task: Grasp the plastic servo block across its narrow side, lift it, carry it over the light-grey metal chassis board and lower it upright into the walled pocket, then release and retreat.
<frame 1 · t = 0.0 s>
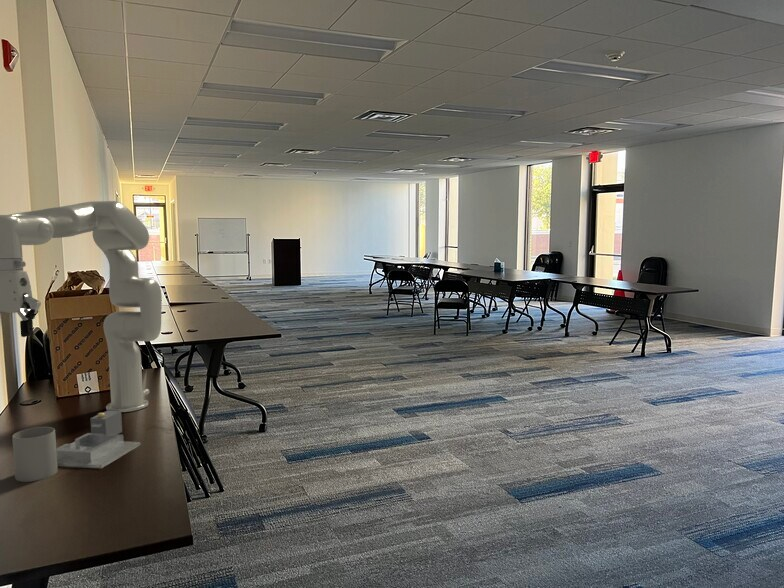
hand: (9, 335, 141), 31 cm above the table, fingers open, 9 cm apart
servo: (107, 435, 160), on the table
chassis board: (89, 454, 146), on the table
cup: (36, 475, 134), on the table
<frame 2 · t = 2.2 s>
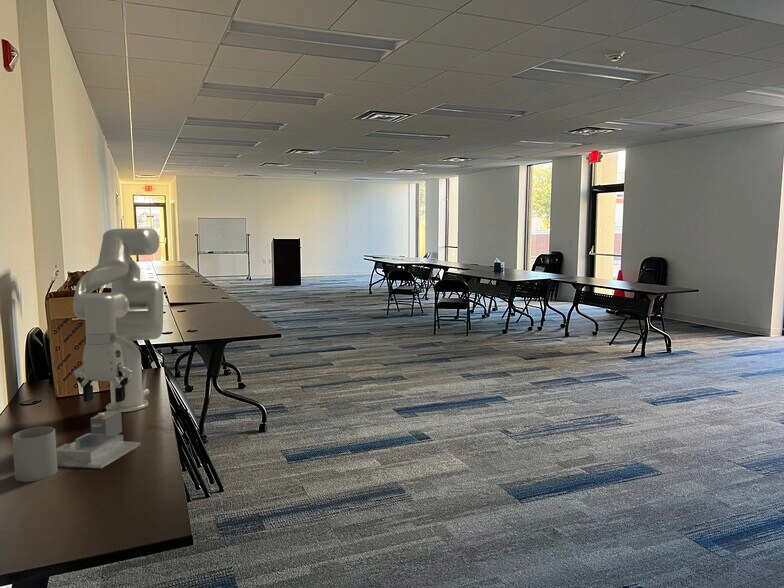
hand: (104, 400, 159), 10 cm above the table, fingers open, 9 cm apart
nothing on the table moved.
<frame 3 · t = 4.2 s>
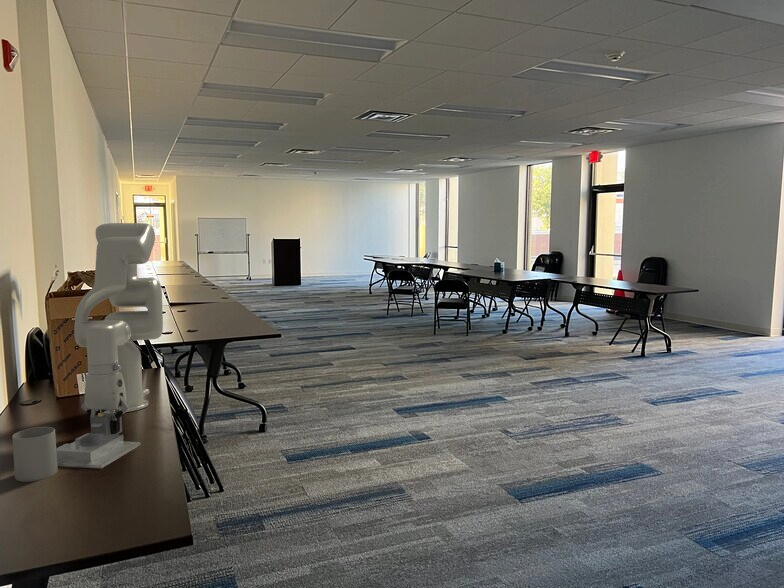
hand: (107, 432, 160), 1 cm above the table, fingers closed on servo, 4 cm apart
servo: (107, 435, 160), on the table, touching gripper
everything else where it was.
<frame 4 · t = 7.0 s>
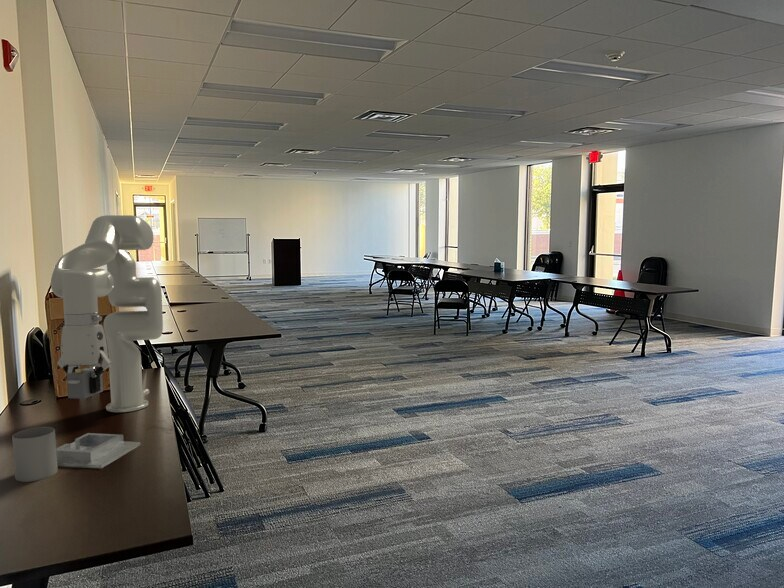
hand: (85, 391, 144), 16 cm above the table, fingers closed on servo, 4 cm apart
servo: (86, 394, 144), point 16 cm above the table, touching gripper
everything else where it was.
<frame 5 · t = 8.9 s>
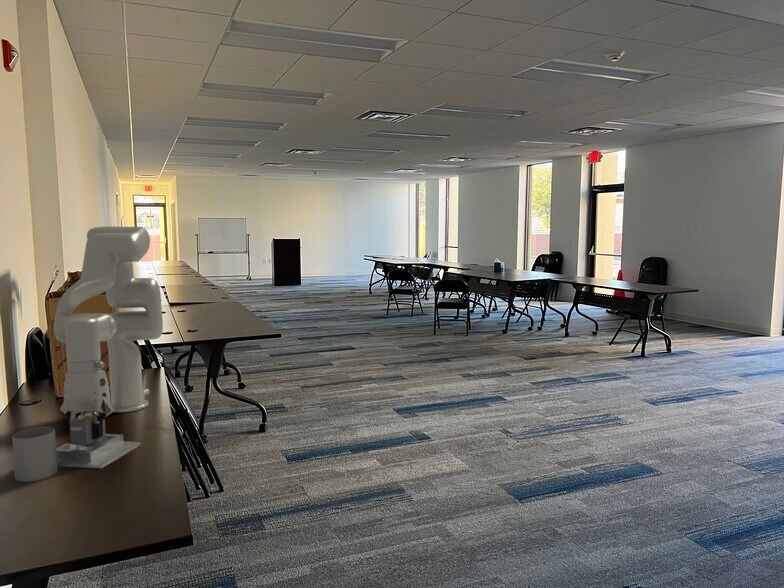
hand: (88, 436, 145), 5 cm above the table, fingers closed on servo, 4 cm apart
servo: (88, 440, 145), point 4 cm above the table, touching gripper
everything else where it was.
when the fingers open (4 cm above the table, at t = 10.2 s): servo drops 2 cm, resting on chassis board.
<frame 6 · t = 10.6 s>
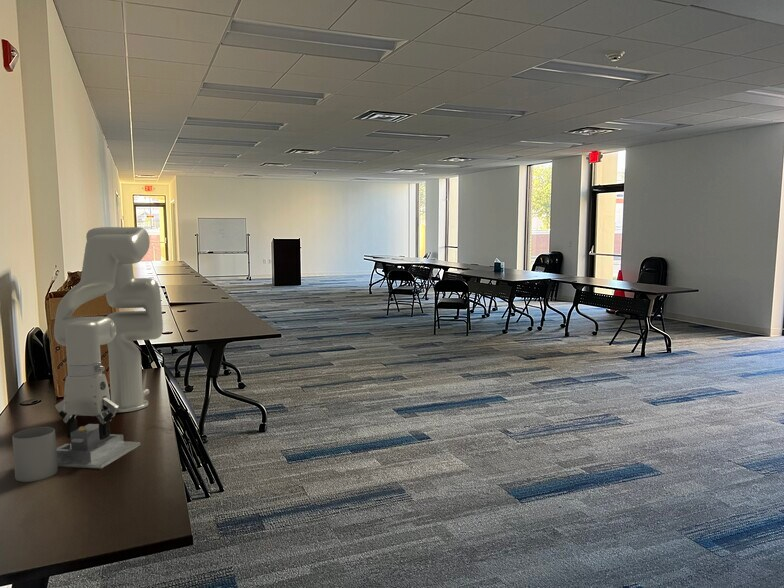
hand: (88, 437, 146), 5 cm above the table, fingers open, 8 cm apart
servo: (89, 451, 146), point 1 cm above the table, touching chassis board
everything else where it was.
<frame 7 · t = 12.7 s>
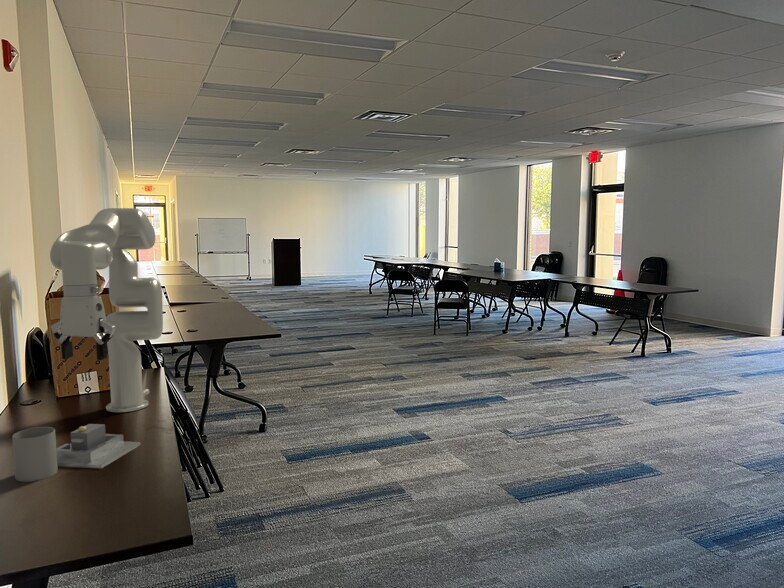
hand: (84, 358, 146), 24 cm above the table, fingers open, 9 cm apart
nothing on the table moved.
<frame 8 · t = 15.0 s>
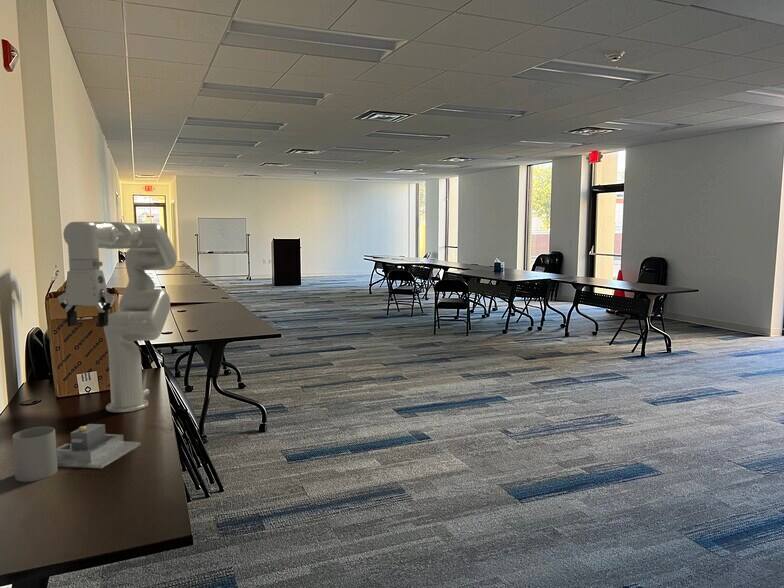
hand: (87, 325, 163), 30 cm above the table, fingers open, 9 cm apart
nothing on the table moved.
at the end: servo inside the target area on the chassis board (0.0 cm from its centre), point 0.8 cm above the chassis board's base; servo tilted 0°; the gripper is holding nothing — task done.
